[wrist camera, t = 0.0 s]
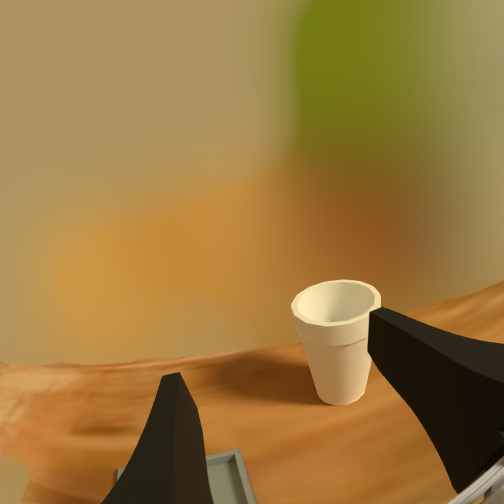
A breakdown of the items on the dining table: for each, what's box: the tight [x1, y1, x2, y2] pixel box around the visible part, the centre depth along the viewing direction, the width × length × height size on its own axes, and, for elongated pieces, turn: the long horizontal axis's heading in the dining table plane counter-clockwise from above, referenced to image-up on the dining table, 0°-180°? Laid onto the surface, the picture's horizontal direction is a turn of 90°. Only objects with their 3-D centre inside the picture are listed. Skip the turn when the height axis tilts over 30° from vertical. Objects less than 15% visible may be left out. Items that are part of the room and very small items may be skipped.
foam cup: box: [291, 280, 381, 406], centre depth 33 cm, size 10×9×13 cm
